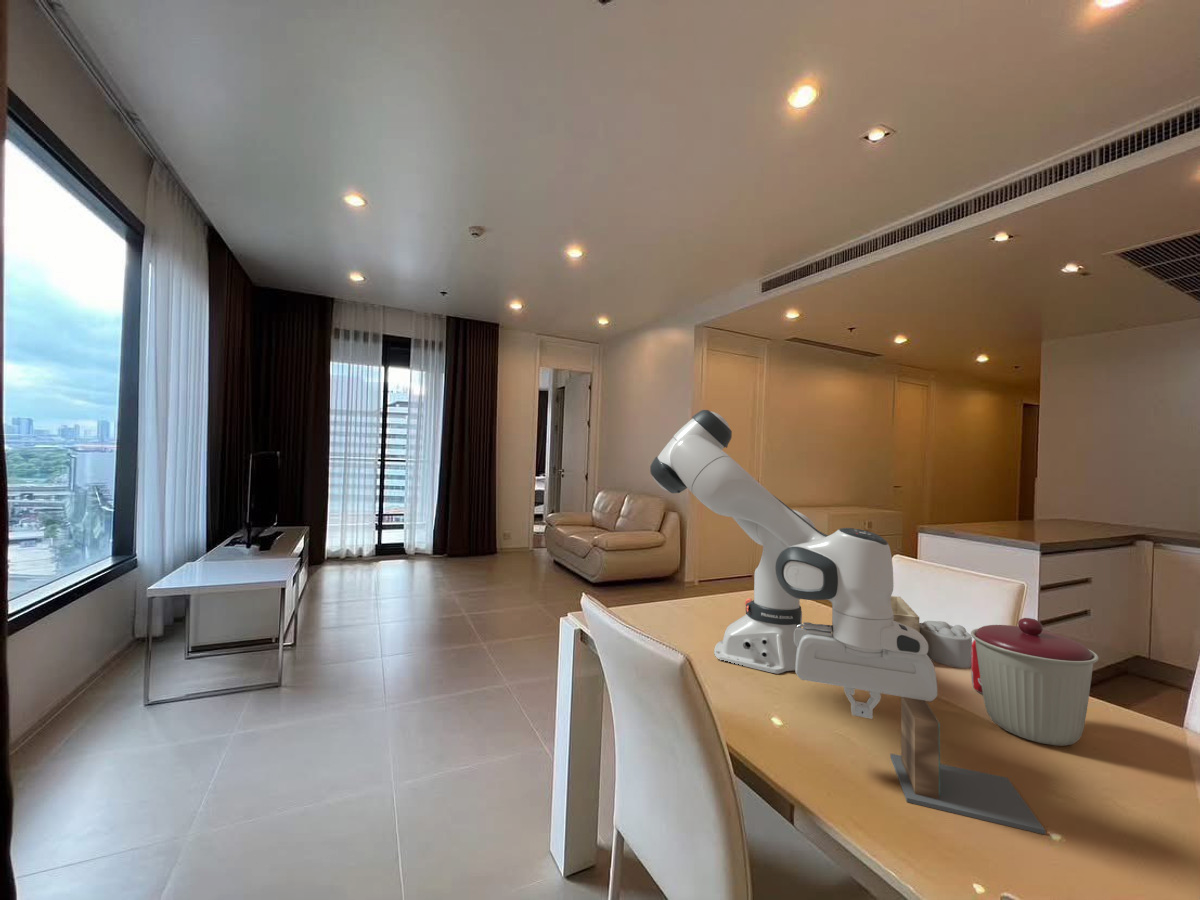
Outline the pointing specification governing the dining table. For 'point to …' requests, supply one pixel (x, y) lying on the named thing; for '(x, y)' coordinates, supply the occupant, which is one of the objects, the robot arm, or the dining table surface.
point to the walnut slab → (920, 747)
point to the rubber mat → (974, 796)
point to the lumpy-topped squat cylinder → (947, 643)
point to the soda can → (975, 669)
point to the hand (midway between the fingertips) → (861, 715)
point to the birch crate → (904, 613)
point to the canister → (1034, 681)
